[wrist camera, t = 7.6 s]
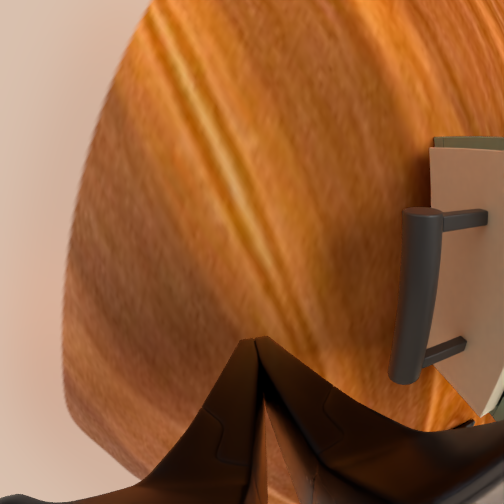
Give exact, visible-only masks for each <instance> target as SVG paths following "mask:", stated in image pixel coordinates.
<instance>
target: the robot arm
mask: <svg viewBox="0 0 504 504" xmlns="http://www.w3.org/2000/svg"><path fill="white" fill-rule="evenodd" d="M264 402H265V405H264ZM265 406H266V410H267V413H268V416H269V419H270V421H271V424H272V427H273V430H274V433H275V436H276V438H277V441H278V444H279V447H280V450H281V452H282V455H283V458H284V461H285V463H286V466H287V469H288V472H289V474H290V477H291V480H292V482H293V485H294V488H295V490H296V493H297V495H298V498H299V501H300V503H301V504H504V420H501V421H497V422H493V423H489V424H483V425H478V426H473V425H474V423H475V421H474V420H473V419H472V420H470V421H469V422H467V423H465V424H463V425H462V426H460V427H458V428H456V429H453V430H445V431H436V432H423V431H418V430H414V429H411V428H409V427H406V426H404V425H402V424H400V423H398V422H396V421H394V420H392V419H390V418H388V417H386V416H384V415H381V414H380V413H378V412H376V411H374V410H372V409H370V408H368V407H366V406H364V405H363V404H361V403H359V402H357V401H355V400H354V399H352V398H351V397H349V396H348V395H346V394H345V393H343V392H342V391H340V390H339V389H338V388H336V387H335V386H334V387H333V385H332V384H331V383H329V382H328V381H326V380H325V379H324V378H322V377H321V376H320V375H318V374H317V373H316V372H314V371H313V370H312V369H310V368H309V367H308V366H306V365H305V364H304V363H302V362H301V361H300V360H298V359H297V358H296V357H294V356H293V355H292V354H290V353H289V352H288V351H286V350H285V349H284V348H283V347H281V346H280V345H279V344H277V343H276V342H275V341H274V340H272V339H271V338H270V337H268V336H263V337H257V338H255V339H253V338H250V339H243V340H240V341H239V343H238V345H237V347H236V348H235V350H234V352H233V354H232V356H231V357H230V359H229V361H228V363H227V364H226V366H225V368H224V369H223V371H222V373H221V375H220V376H219V378H218V380H217V382H216V383H215V385H214V387H213V388H212V390H211V392H210V394H209V395H208V397H207V399H206V400H205V402H204V404H203V405H202V408H201V409H200V410H199V412H198V414H197V415H196V417H195V418H194V420H193V422H192V423H191V425H190V426H189V428H188V429H187V430H186V432H185V433H184V434H183V435H182V437H181V438H180V439H179V441H178V442H177V443H176V444H175V445H174V447H173V448H172V449H171V450H170V451H169V452H168V454H167V455H166V456H165V457H164V458H163V459H162V461H161V462H160V463H159V464H158V465H157V466H156V467H155V469H154V470H153V471H152V472H151V473H150V474H149V475H148V476H147V477H146V478H144V479H143V480H142V481H140V482H139V483H137V484H135V485H133V486H131V487H128V488H124V489H121V490H117V491H114V492H110V493H106V494H102V495H99V496H94V497H90V498H86V499H81V500H76V501H71V502H62V503H53V502H45V501H40V500H38V499H35V498H32V497H29V496H26V495H23V494H15V495H10V496H6V497H3V498H0V504H268V494H267V459H266V426H265Z"/></svg>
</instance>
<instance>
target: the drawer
mask: <svg viewBox="0 0 504 504" xmlns="http://www.w3.org/2000/svg"><path fill="white" fill-rule="evenodd" d="M429 157H430V177H431V208H429V207H409V208H406V209H403V211H402V249H401V269H400V283H399V295H398V305H397V314H396V323H395V330H394V337H393V344H392V350H391V357H390V362H389V368H388V376H389V378H390V379H391V380H392V381H393V382H395V383H397V384H402V385H407V384H411V383H414V382H415V381H416V380H417V379H418V378H419V376H420V373H421V369H422V368H425V367H427V366H430V365H432V364H433V365H434V366H435V368H436V369H437V370H438V371H439V372H440V373H441V374H442V375H443V376H444V377H445V379H446V380H447V381H448V382H449V383H450V384H451V385H452V386H453V387H454V388H455V390H456V391H457V392H458V393H459V394H460V395H461V396H462V398H463V399H464V400H465V401H466V402H467V403H468V404H469V405H470V407H471V408H472V409H473V410H474V411H475V412H476V414H477V415H478V416H479V417H482V416H484V415H485V414H487V413H488V412H490V411H491V410H493V409H494V408H495V407H496V405H497V403H498V401H499V399H500V397H501V395H502V393H503V391H504V151H500V150H487V149H470V148H441V147H430V148H429Z"/></svg>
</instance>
